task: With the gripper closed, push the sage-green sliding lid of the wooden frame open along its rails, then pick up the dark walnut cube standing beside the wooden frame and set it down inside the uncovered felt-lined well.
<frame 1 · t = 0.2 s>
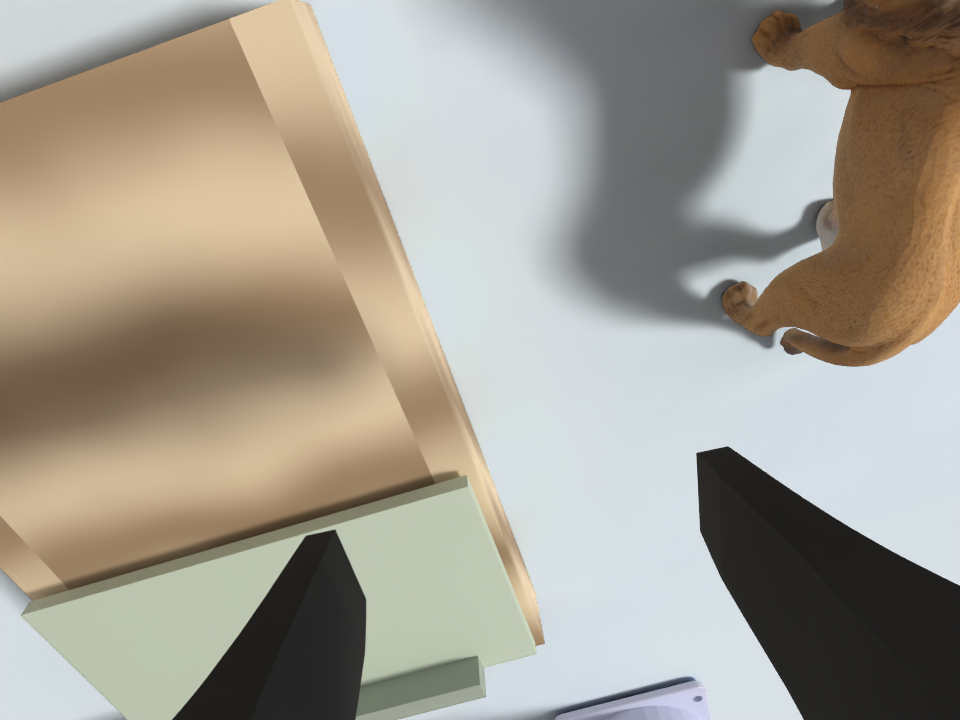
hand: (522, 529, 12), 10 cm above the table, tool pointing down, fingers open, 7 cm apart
lion figurine: (782, 125, 18), on the table
lid: (293, 643, 22), point 4 cm above the table, slide at 0.0 cm
wooden frame: (235, 441, 22), on the table
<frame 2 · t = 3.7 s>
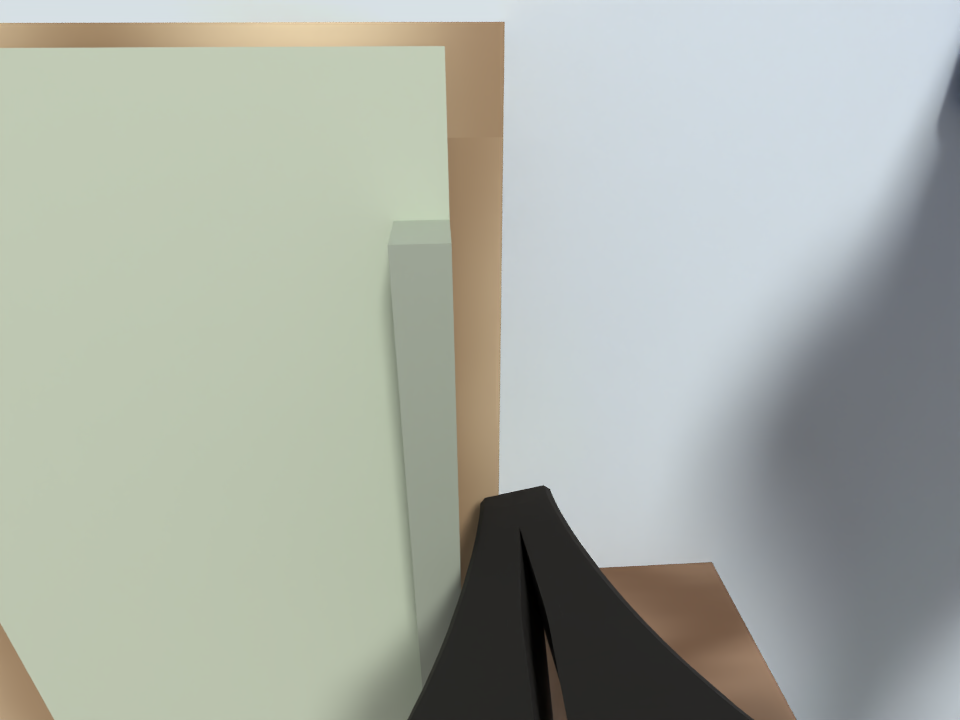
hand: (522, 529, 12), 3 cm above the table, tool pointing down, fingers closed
walnut cube: (616, 623, 18), on the table
lid: (211, 557, 11), point 4 cm above the table, slide at 0.1 cm, touching gripper
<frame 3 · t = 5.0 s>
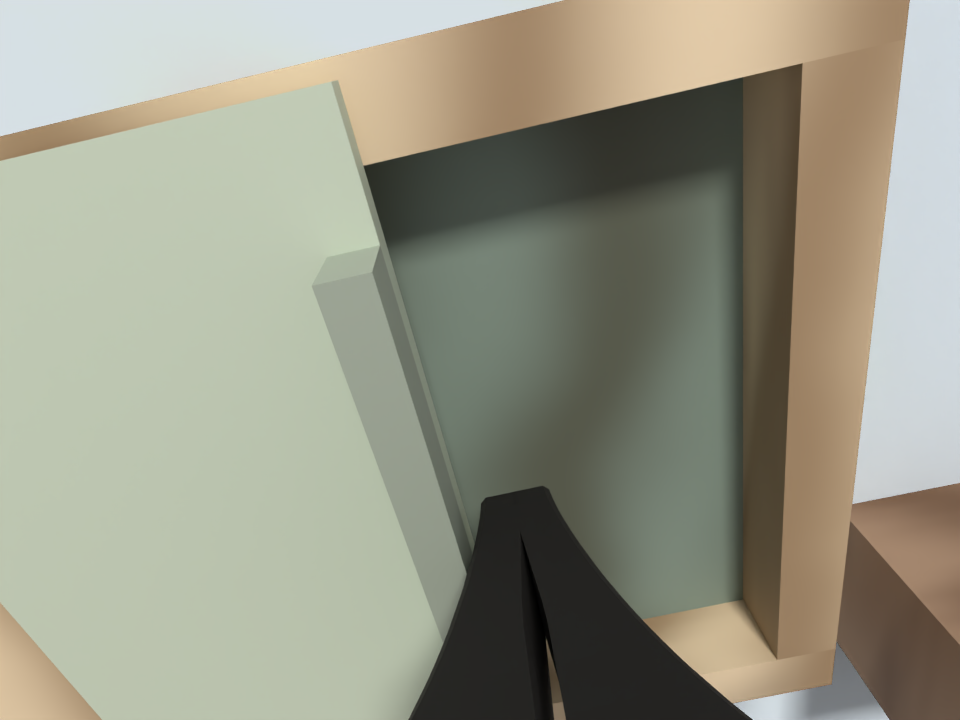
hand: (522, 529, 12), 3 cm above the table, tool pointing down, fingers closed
walnut cube: (913, 551, 18), on the table
lid: (239, 600, 11), point 4 cm above the table, slide at 7.4 cm, touching gripper
wooden frame: (309, 469, 15), on the table
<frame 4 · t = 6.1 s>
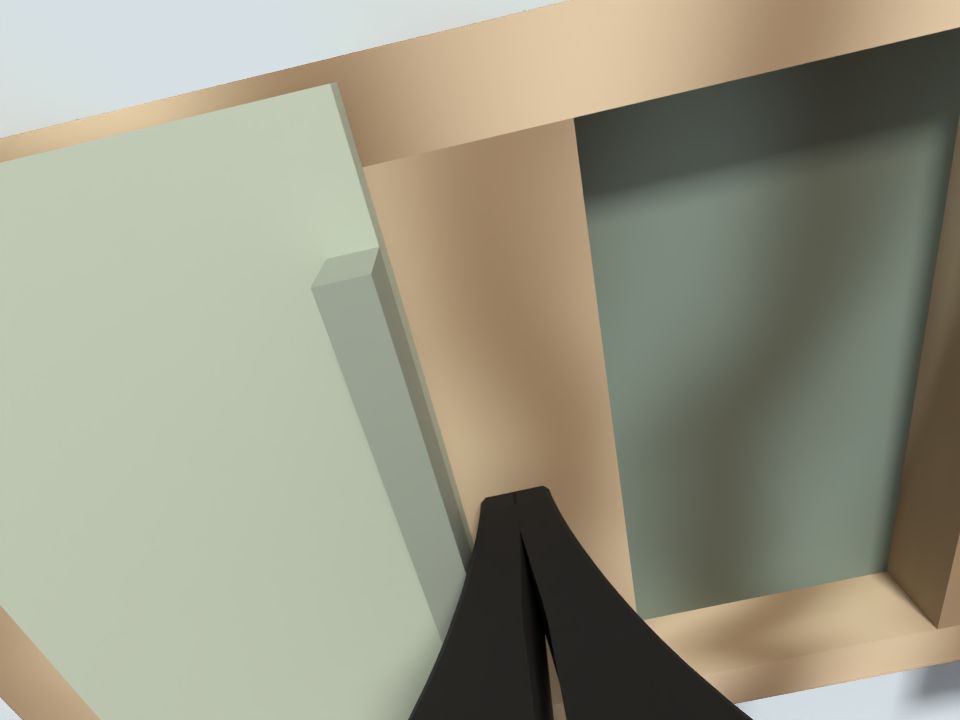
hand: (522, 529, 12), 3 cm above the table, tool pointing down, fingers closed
lid: (239, 602, 11), point 4 cm above the table, slide at 11.5 cm, touching gripper
wooden frame: (469, 436, 14), on the table
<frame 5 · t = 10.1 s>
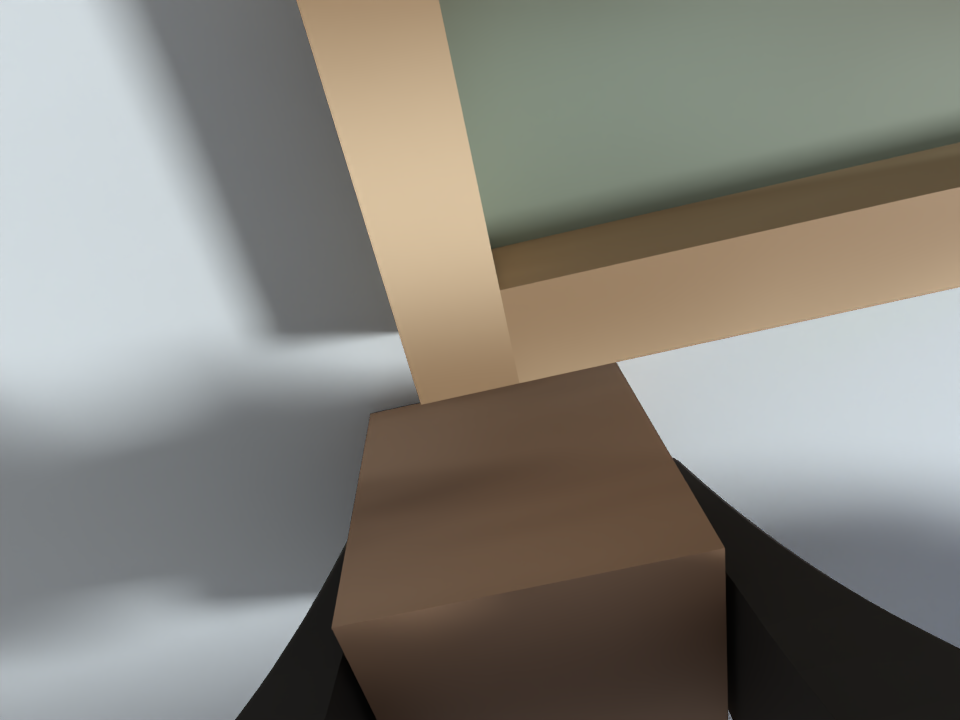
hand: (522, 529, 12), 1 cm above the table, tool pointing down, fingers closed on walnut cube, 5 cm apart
walnut cube: (514, 483, 13), on the table, touching gripper
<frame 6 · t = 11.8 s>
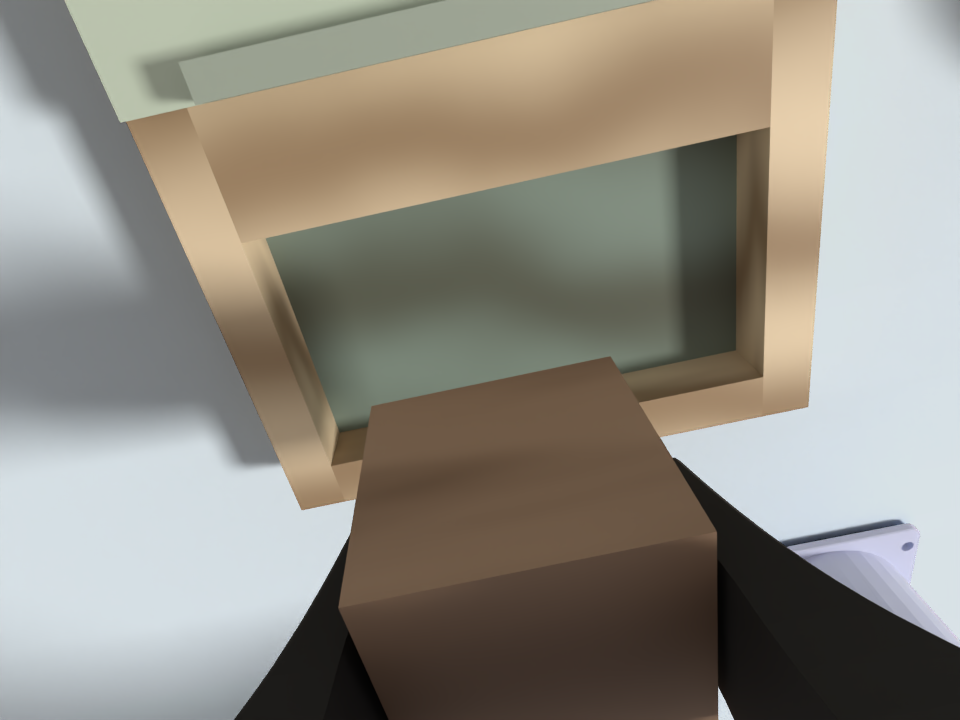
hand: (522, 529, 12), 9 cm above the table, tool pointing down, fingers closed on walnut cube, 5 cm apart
walnut cube: (510, 475, 13), point 8 cm above the table, touching gripper
wooden frame: (472, 58, 16), on the table
when the fingers open (3 cm above the table, at t = 13.6 s): walnut cube stays where it is, resting on wooden frame.
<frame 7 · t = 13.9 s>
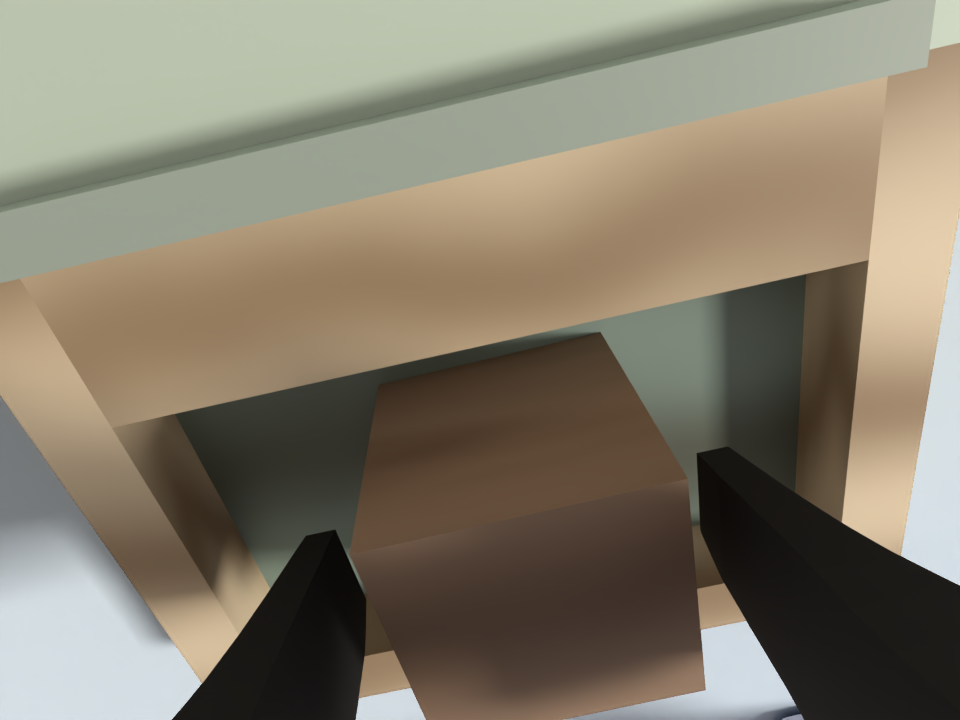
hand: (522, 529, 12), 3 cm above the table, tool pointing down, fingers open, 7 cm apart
walnut cube: (511, 448, 14), point 1 cm above the table, touching wooden frame
wooden frame: (439, 154, 12), on the table
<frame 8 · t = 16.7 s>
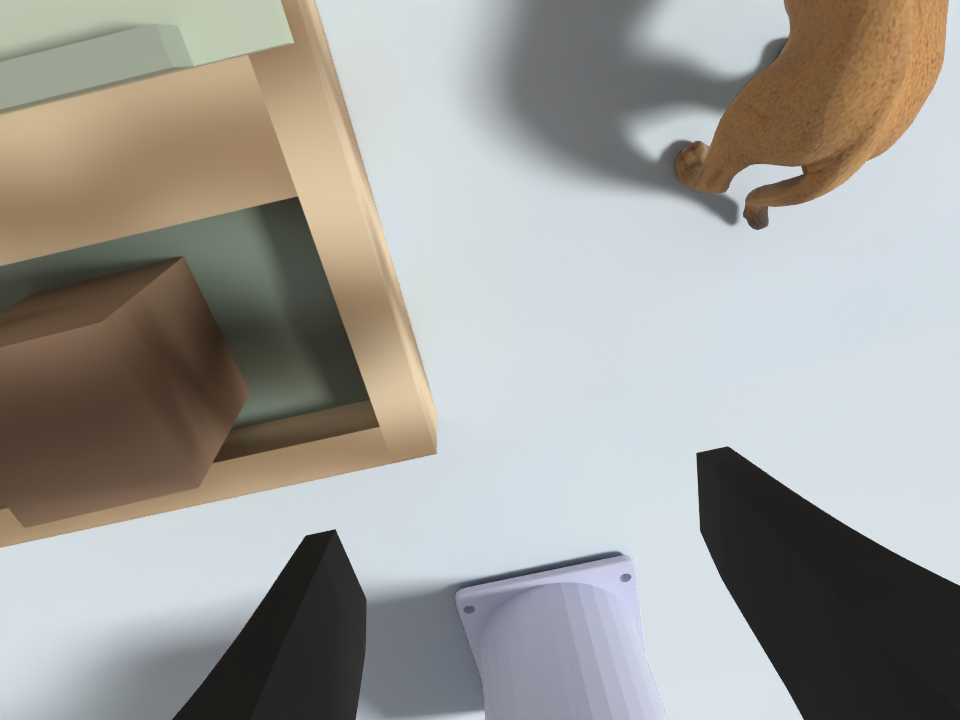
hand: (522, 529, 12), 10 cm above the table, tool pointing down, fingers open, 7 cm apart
walnut cube: (146, 346, 19), point 1 cm above the table, touching wooden frame
wooden frame: (41, 127, 17), on the table
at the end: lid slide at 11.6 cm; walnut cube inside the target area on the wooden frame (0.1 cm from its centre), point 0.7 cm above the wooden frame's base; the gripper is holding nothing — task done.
